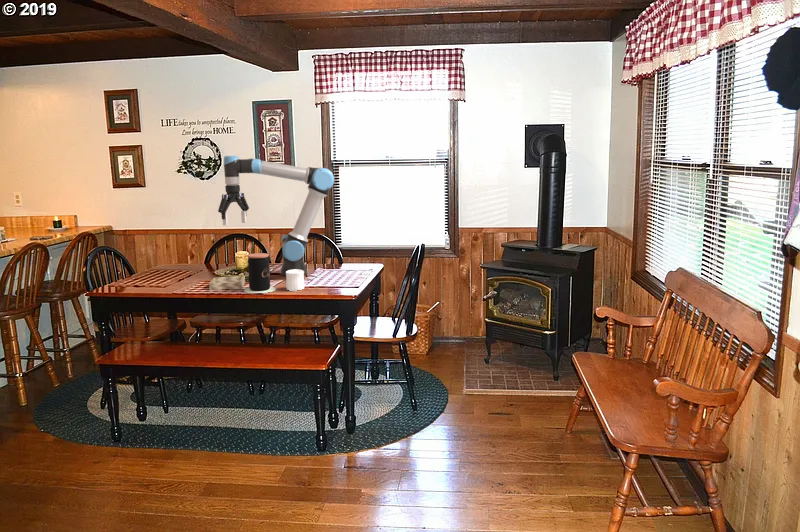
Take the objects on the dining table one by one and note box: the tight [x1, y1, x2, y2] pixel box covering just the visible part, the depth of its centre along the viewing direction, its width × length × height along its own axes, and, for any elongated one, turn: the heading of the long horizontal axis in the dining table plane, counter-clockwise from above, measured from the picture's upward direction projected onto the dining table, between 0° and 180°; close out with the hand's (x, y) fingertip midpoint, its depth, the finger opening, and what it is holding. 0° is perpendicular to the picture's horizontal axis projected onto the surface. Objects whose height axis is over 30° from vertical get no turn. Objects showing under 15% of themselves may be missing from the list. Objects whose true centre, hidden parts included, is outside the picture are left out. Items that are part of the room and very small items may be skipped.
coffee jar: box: [247, 252, 271, 291], centre depth 336 cm, size 11×11×18 cm
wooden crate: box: [208, 276, 246, 291], centre depth 349 cm, size 16×16×4 cm
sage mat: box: [243, 286, 277, 294], centre depth 338 cm, size 16×16×1 cm
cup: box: [285, 269, 305, 292], centre depth 338 cm, size 10×10×10 cm
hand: (234, 224), depth 357 cm, fingers open, 13 cm apart
